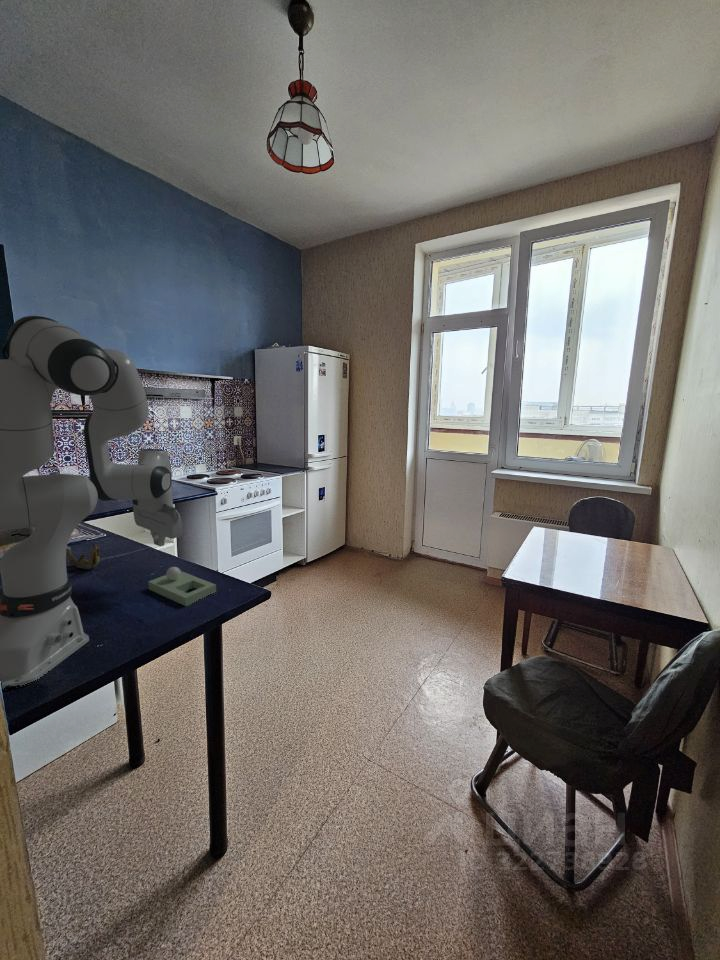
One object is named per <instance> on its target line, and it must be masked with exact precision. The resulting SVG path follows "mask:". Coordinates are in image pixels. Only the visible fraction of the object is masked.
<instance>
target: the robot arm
mask: <svg viewBox="0 0 720 960" xmlns="http://www.w3.org/2000/svg"><path fill="white" fill-rule="evenodd" d="M1 354H2V357H3V358H4V359H3V358H2V359H1V358H0V532H5V531H6V532H7V531H13V530H20V529H25V528H33V531H32V533H31V534H30V535H29V536H28V537H27V538H25V539H24V540H22V541H20V542H17V543H16V544H14V545H13V546H11V547H9V548H8V549H7V550H6V551H5V552H4V553H3V554H2V555H1V557H0V576H1V577H0V578H1V584H2V585H1V586H2V590H3V591H2V593H1V594H0V679H1V681H2V688H3V690H4V688H5V687H6V686H8V685H9V686H17V685H20V687H23V686H22V685H24V686H26V685H25V684H27V683H30V682H33V681H35V680H36V681H38V680H39V679H41V678H42V677H43V676H45V675H46V674H47V673H49V672H50V671H52V670H53V669H54V668H56V667H57V666H58V665H59V664H61V663H62V662H63V661H65V660H66V659H67V658H68V657H69V656H72V654H74V653H75V652H76V651H78V650H79V649H80V648H81V647H83V646H84V645H86V644H87V643H89V641H90V638H89V635H88V634H87V633H85V632H84V628H83V624H82V620H81V615H80V612H79V609H78V606H77V605H76V604H75V603H74V601H73V599H72V597H71V596H72V594H73V592H72V587H73V586H72V583H71V579H70V578H69V577H68V572H67V571H68V569H67V555H66V548H67V547H68V544H69V539H70V538H71V536H72V534H73V532H74V530H76V528H77V527H78V526H79V524H80V523H81V522H82V521H83V520H85V519H86V518H88V517H89V516H90V515H91V514H92V513H93V512H94V510H95V508H96V507H97V504H98V499H99V500H100V501H101V502H108V501H109V502H110V501H119V500H120V501H124V500H126V501H127V500H131V504H132V505H133V508H132V512H133V519H134V523H135V524H136V526H138V527H140V528H143V529H146V530H148V531H150V535H151V537H152V539H153V544H154V545H155V546H158V547H163V546H165V541H166V540H165V539H166V538H168V539H171V540H173V539H176V538H180V537H182V535H183V533H184V531H183V523H182V522H183V521H182V516H181V515H180V512H179V511H178V510H177V509H176V507H174V500H173V488H172V477H173V475H172V467H171V461H170V456H169V453H168V451H167V450H165V449H160V448H158V449H157V448H143V449H140V450H139V451H138V454H137V455H138V456H137V464H126V463H125V464H122V463H121V464H120V463H115V462H113V461H111V456H110V447H109V442H110V441H112V440H114V439H117V438H121V437H125V436H128V435H131V434H133V433H134V432H137V431H138V430H139V429H141V427H143V426H144V425H145V423H146V422H147V420H148V418H149V410H150V409H149V404H148V403H149V401H148V398H147V394H146V391H145V388H144V384H143V381H142V379H141V376H140V374H139V371H138V370H137V368H136V366H135V364H134V361H133V360H132V358H131V357H130V356H129V355H127V353H125V352H123V351H120V350H118V349H113V348H104V349H103V348H102V347H100V346H99V345H98V344H96V343H94V342H93V341H91V340H89V339H88V338H87V337H85V336H84V335H82V334H81V333H80V332H78V331H77V330H75V329H74V328H71V326H70V327H69V326H67V325H64V324H63V323H61V322H58V321H57V320H55V319H53V318H50V317H46V316H39V315H28V316H23V317H21V318H18V319H17V320H16V321H14V323H13V324H12V325H11V326H10V328H9V330H8V333H7V336H6V341H5V343H3V346H2V347H1ZM58 388H59V389H61V390H63V391H65V392H67V393H69V394H72V395H76V396H77V395H78V396H89V399H90V401H91V406H92V413H90V414H88V415H87V416H86V418H85V420H84V424H83V425H84V426H83V436H84V445H85V450H86V451H85V453H86V457H87V458H86V459H87V465H88V470H89V471H88V472H89V475H88V476H89V477H87V476H85V475H80V474H69V473H59V474H50V473H49V474H41V475H30V476H29V475H28V476H27V475H26V474H29V473H30V472H32V471H34V470H36V469H38V468H40V467H42V466H44V465H46V463H48V461H50V459H51V458H52V457H53V455H54V453H55V449H56V447H55V436H54V425H53V424H54V423H53V412H52V411H53V410H52V405H51V404H52V401H53V397H54V394H55V392H56V390H57V389H58ZM25 475H26V476H25ZM48 671H49V672H48ZM44 674H45V675H44ZM40 677H41V678H40ZM37 679H38V680H37ZM36 681H35V682H36ZM33 683H34V682H33ZM30 684H31V683H30ZM27 685H28V684H27Z"/></svg>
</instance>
